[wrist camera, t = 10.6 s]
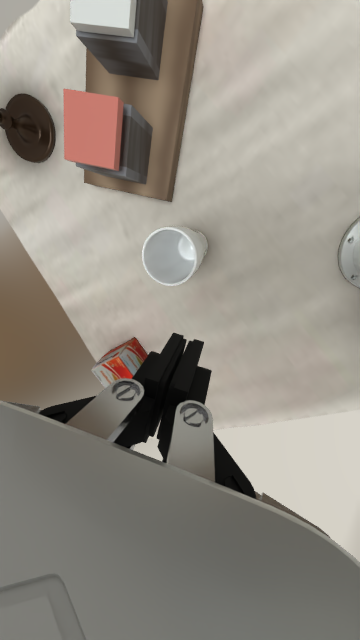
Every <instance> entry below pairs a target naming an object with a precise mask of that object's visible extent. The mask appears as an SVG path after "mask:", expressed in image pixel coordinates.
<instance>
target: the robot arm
mask: <svg viewBox="0 0 360 640" xmlns="http://www.w3.org/2000/svg"><path fill="white" fill-rule="evenodd" d="M349 238H350V241H349V242H348V241H347V240H348V239H349ZM338 261H339V267H340V269H341V272H342V274H343V275H344V277H345V278H346V279H347V280H348V281H349V282H350V283H351V284H353V285H355V286H356V287H358V288H360V217H359V218H358V219H357V220H356V221H355V222H354V223H353V224H352V225H351V227H350V228H349V229H348V231H347V232H346V234H345V236H344V237H343V239H342V241H341V245H340V248H339V254H338ZM352 275H353V277H351V276H352ZM185 344H186V339H183V335H179V334H176V333H173V334H172V336H171V337H170V339H169V341H168V342H167V344H166V345H165V347H164V349H163V350H162V352H161V353H160V354H159V353H156V352H153V351H151V352H150V353H149V355H148V356H147V358H146V359H145V360H144V362H143V363H142V365H141V366H140V368H139V369H138V370H137V372H136V373H135V375H134V376H133V377H132V379H128V378H123V379H118V380H115V381H114V382H112V383H111V384H110V385H109V386H108V387H106V388H105V389H104V390H103V391H102V392H101V393H100V394H99V395H97V396H94V397H89V398H85V399H81V400H76V401H73V402H68V403H64V404H59V405H55V406H51V407H48V408H46V409H44V410H40V407H39V406H31V405H25V404H18V403H12V402H5V401H0V640H360V562H359V561H357V559H356V558H354V557H353V556H352V555H351V554H350V553H348V552H347V551H346V550H345V549H343V548H342V547H341V546H340V545H338V544H337V543H336V542H335V541H333V540H332V539H331V538H330V537H329V536H328V535H327V534H326V533H325V532H324V531H322V530H321V529H320V528H319V527H317V526H315V525H314V524H312V523H311V522H309V521H307V520H306V519H304V518H303V517H301V516H299V515H298V514H296V513H295V512H293V511H292V510H290V509H288V508H287V507H285V506H284V505H282V504H280V503H279V502H277V501H276V500H274V499H273V498H271V497H269V496H268V495H266V494H265V493H262V495H260V494H258V493H257V492H255V491H254V488H253V487H252V485H251V483H250V481H249V480H248V479H247V477H246V476H245V474H244V473H243V472H242V470H241V469H240V468H239V466H238V465H237V464H236V462H235V461H234V460H233V458H232V457H231V456H230V454H229V453H228V452H227V450H226V449H225V448H224V446H223V445H222V444H221V442H220V441H219V440H218V438H217V437H216V435H215V434H214V433H213V418H212V414H211V412H210V410H209V409H208V408H207V407H206V406H205V400H206V395H207V390H208V386H209V381H210V376H211V370H209V369H205V368H202V367H199V366H197V365H198V362H199V358H200V355H201V351H202V348H203V345H204V342H202V341H199V340H196V339H194V341H189V343H188V345H187V347H186V349H185V352H184V348H185ZM183 352H184V354H183ZM160 420H161V422H160ZM159 422H160V426H159V430H158V434H157V439H159V444H158V449H159V451H160V452H161V455H162V457H163V460H162V462H161V461H159V460H156V459H154V458H151V457H149V456H146V455H144V454H141V453H138V452H136V451H133V449H134V446H135V444H138V443H141V442H145V443H146V442H147V439H148V437H149V436H152V437H153V436H154V434H155V432H156V429H157V427H158V425H159Z"/></svg>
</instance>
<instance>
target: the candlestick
mask: <svg viewBox="0 0 360 640" xmlns="http://www.w3.org/2000/svg"><path fill="white" fill-rule="evenodd" d="M0 126H1V127H2V128H3V129H5V132H6V135H7V138H8V141H9V143H10V145H11V146H12V148H13V150H14V151H15V152H16V153H17V154H18V155H19V156H20V157H21V158H23V159H25V160H27V161H30V162H34V163H40V162H43V161H45V160H47V159H48V158H49V157H50V155H51V154H52V152H53V149H54V146H55V127H54V123H53V120H52V118H51V115H50V113H49V112H48V110H47V108H46V107H45V106H44V105H43V104H42V103H41V102H40V101H39V100H37V99H35V98H34V97H32V96H30V95H27V94H18V95H15V96H14V97H13V98H11V100H10V101H9V102H8V104H7V106H6V110H5V109H3V108H1V109H0Z"/></svg>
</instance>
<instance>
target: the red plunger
mask: <svg viewBox="0 0 360 640" xmlns="http://www.w3.org/2000/svg"><path fill="white" fill-rule="evenodd" d="M123 105H124V102H123V101H122V100H121V99H120V98H119V97H114V96H107V95H101V94H95V93H88V92H82V91H75V90H69V89H64V157H65V159H66V160H68V161H71V162H76V163H81V164H86V165H91V166H96V167H101V168H106V169H111V170H115V171H119V161H120V147H121V133H122V119H123Z"/></svg>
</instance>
